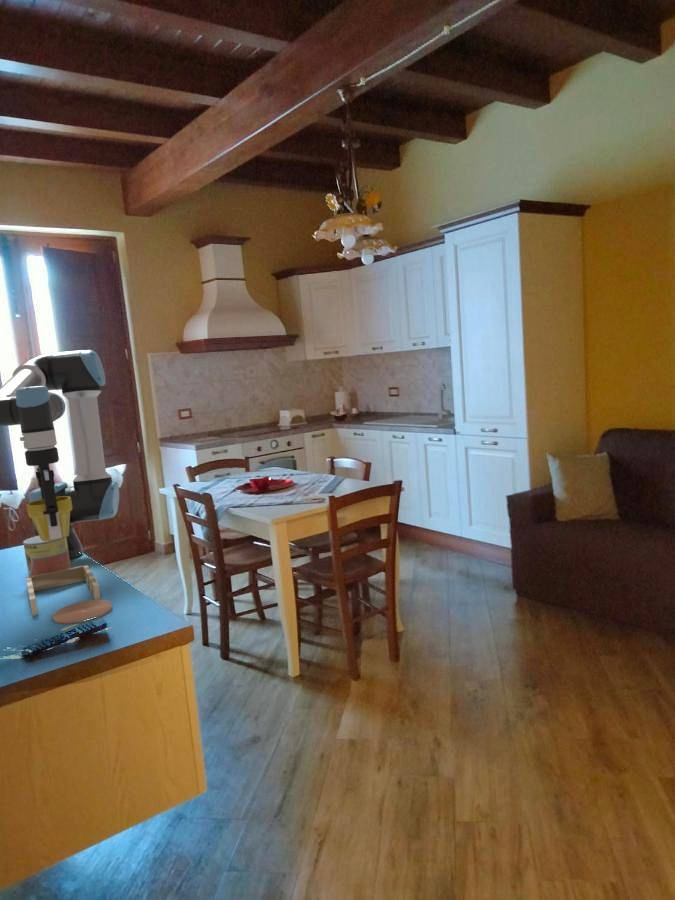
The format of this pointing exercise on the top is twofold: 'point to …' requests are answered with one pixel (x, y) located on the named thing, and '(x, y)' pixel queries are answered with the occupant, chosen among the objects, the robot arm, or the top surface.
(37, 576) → the slot cradle
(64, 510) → the plant pot
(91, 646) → the top surface
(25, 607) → the top surface
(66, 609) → the disc
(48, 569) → the canned food
